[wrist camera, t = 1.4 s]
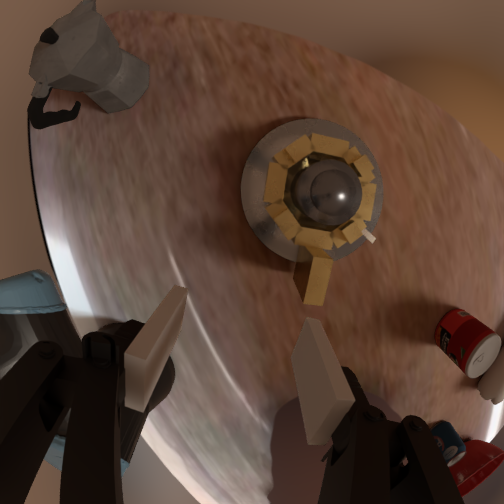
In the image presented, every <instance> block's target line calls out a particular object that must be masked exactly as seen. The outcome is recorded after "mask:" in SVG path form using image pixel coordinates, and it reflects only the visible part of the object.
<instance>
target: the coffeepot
mask: <svg viewBox="0 0 504 504" xmlns="http://www.w3.org/2000/svg"><path fill="white" fill-rule="evenodd" d="M95 2H96V0H84V1H83V2H80V3H79V5H77V7H76V8H75V9H74V10H73V11H72V12H71V13H69V14H67V15H65V16H63V17H61V18H59V19H57V20H56V21H55V22H54V23H53V25H52V26H51V27H49V28H47V29H46V30H45V31H44V32H43V33H42V34H41V36H40V41H39V42H38V43H37V45H36V46H35V48H34V52H33V56H32V61H31V65H30V70H29V75H30V76H31V77H32V78H33V79H34V80H35V81H36V84H35V87H34V89H33V92H32V94H31V95H32V96H33V97H32V100H31V102H30V104H29V106H28V110H27V112H28V115H29V118H30V121H31V124H32V126H33V127H34V128H35V129H43V128H46V127H49V126H52V125H56V124H59V123H63V122H67V121H71V120H74V119H75V118H76V117H77V116H78V113H79V110H80V106H81V103H80V102H79V101H76V103H75V105H74V107H73V109H72V110H71V111H69V110H60V111H58V112H45V113H43V107H44V105H45V103H46V101H47V99H48V97H49V94H50V92H51V90H52V88H56V89H62V90H68V91H74V92H82V91H83V92H84V93H85V94H86V95H87V96H88V97H90V98H91V99H92V100H93V101H94V102H95V103H96V104H98V105H99V106H100V107H101V108H102V109H104V110H105V111H106V112H107V113H112V112H117V111H122V110H125V109H128V108H131V107H132V106H133V105H134V104H135V103H136V102H137V101H138V100H139V99H140V98H141V96H142V95H143V94H144V92H145V90H146V89H147V88H148V85H149V65H148V64H146V63H145V62H143V61H142V60H140V59H139V58H137V57H136V56H134V55H132V54H130V53H128V52H127V51H125V50H123V49H121V48H119V44H118V42H117V40H116V39H115V37H114V35H113V34H112V32H111V30H110V28H109V27H108V25H107V23H106V22H105V20H104V18H103V17H102V15H101V14H99V13H97V12H96V3H95Z"/></svg>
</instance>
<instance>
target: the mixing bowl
mask: <svg viewBox="0 0 504 504" xmlns="http://www.w3.org/2000/svg"><path fill="white" fill-rule="evenodd" d="M463 443H464V444H465V446H466V452H467V453H466V455H465V456H464V457H463V458H462V459H461V460H460V461H459V462H458V463H456V464H455V465H453V466H451V467H449V469H450V472H451V474H452V476H453V478H454V480H455V483H456V485H457V487H458V490H459V492H460V494H461V497H463V496H464V495H466V494H467V493H469V492H470V491H471V490H473V489H474V488H475V487H477V486H478V485H479V484H480V483H482V482H483V481H484V480H485V479H486V478H487V477H488V476H490V475H491V474H492V473H493V472H494V471H495V470H496V469H497V467H498V466H499V465H500V464H501V463H502V462H503V460H504V451H503V450H501V449H500V448H498V447H496V446H495V445H493V444H490V443H488V442H485V441H481V440H471V441H466V442H463Z"/></svg>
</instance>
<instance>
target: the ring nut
mask: <svg viewBox="0 0 504 504" xmlns="http://www.w3.org/2000/svg"><path fill="white" fill-rule="evenodd" d="M308 154H310V155H315V156H319V157H324V158H329V159H333V160H337V161H340V162H343V163H345V164H346V165H348V166H349V167H351V168H352V169H353V170H354V172H355V173H356V174H357V176H358V178H359V180H360V182H361V186H362V200H361V204H360V207H359V209H358V211H357V212H356V214H355V215H354V216H353V217H352V218H351V219H349V220H348V221H346V222H344V223H342V224H339V225H329V226H327V227H326V228H321V227H315V226H309V225H304V224H299V223H298V222H297V220H296V219H295V217H294V216H293V215H292V213H291V212H290V210H289V209H288V208H287V206H286V205H285V203H284V202H283V196H284V190H285V183H286V177H287V171H288V168H290V167H291V166H292V165H294V164H295V163H297V162H298V161H300V160H301V159H303V158H304V157H305V156H307V155H308ZM272 160H273V161H274V163H273V162H269V164H268V169H267V175H266V182H265V188H264V195H263V202H269V204H267V205H266V206H264V207H265V209H266V210H267V212H268V213H269V215H270V216H271V217H272V219H273V220H274V221H275V223H276V224H277V226H278V227H279V228H280V230H281V231H282V232H283V234H284V235H285V237H286V238H287V239H288V241H289V240H290V239H291V240H292V242H293V243H294V244H295V245H299V250H298V255H297V260H296V265H295V270H294V275H293V280H294V282H295V285H296V287H297V290H298V292H299V294H300V297H301V299H302V302H303V304H310V305H319V306H323V302H324V298H325V294H326V290H327V285H328V281H329V277H330V273H331V268H332V264H333V259H332V258H331V257H330V256H329V255H328V254H327V253H326V252H325V251H324V250H323V249H327V250H331V249H332V245H334V246H335V247H336V248H339V247H341V246H342V245H343V244H345V243H346V242H348V243H349V244H351V243H353V242H354V241H355V240H357V239H358V238H359V237H361V236H362V235H363V234H362V232H361V231H362V230H363V229H365V228H366V227H367V226H366V224H365V223H364V221H363V220H367V221H371V215H372V210H373V204H374V198H375V192H376V186H377V184H373V183H369V182H370V181H372V180H373V179H374V178H375V176H374V175H373V173H372V171H371V170H373V169H374V167H373V165H372V164H371V162H370V160H369V159H368V157H367V156H366V154H364V155H361V154H360V153H359V151H358V150H357V148H356V147H355V146H353V147H350V148H349V141H345V140H341V139H337V138H332V137H328V136H324V135H319V134H315V133H312V134H311V135H309V136H308V137H307V136H306V134H305V135H303V136H302V137H300V138H299V139H297V140H296V141H294V142H293V143H291V144H290V145H288V146H287V147H286V148H284V149H283V150H281V151H280V152H278V153H277V154H275V155H274V156H273V157H272Z"/></svg>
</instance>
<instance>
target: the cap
mask: <svg viewBox="0 0 504 504" xmlns="http://www.w3.org/2000/svg"><path fill="white" fill-rule="evenodd" d="M312 133H315V134H319V135H324V136H328V137H332V138H337V139H341V140H345V141H349V148H350V147H353V146H355V147H356V148H357V150H358V151H359V153H360V154H361V155H364V154H366V156H367V157H368V159H369V160H370V162H371V164H372V165H373V167H374V169H373V170H371V171H372V173H373V175H374V176H375V178H374V179H373V180H372V181H370V182H369V183H373V184H377V186H376V192H375V198H374V204H373V210H372V215H371V221H367V220H363V221H364V223H365V224H366V226H367V227H366V228H365V229H363V230H362V231H361V232H362V234H363V235H362V236H361V237H359V238H358V239H357V240H355V241H354V242H353V243H351V244H349V243H348V242H346V243H345V244H343V245H342V246H341V247H339V248H336V247H335V246H334V245H332V249H331V250H327V249H323V250H324V251H325V252H326V253H327V254H328V255H329V256H330V257H331V258H332V259H333V261H335V260H338V259H341V258H343V257H345V256H347V255H349V254H350V253H352V252H353V251H355V250H356V249H357V248H358V247H359V246H361V245H362V244H363V243H364V241H365V240H366V239H368V240H369V241H370V242H371V243H373V242H374V241H375V240H376V238H375V237H374V236H373V235H372V234H371V232H372V231H373V229H374V227H375V225H376V224H377V221H378V218H379V216H380V212H381V208H382V202H383V183H382V177H381V173H380V170H379V167H378V164H377V162H376V160H375V158H374V156H373V154H372V153H371V151H370V150H369V148H368V147H367V146H366V145H365V143H364V142H363V141H362V140H361V139H360V138H359V137H358V136H356V135H355V134H354V133H353V132H351V131H350V130H348V129H346V128H345V127H343V126H341V125H338V124H336V123H333V122H330V121H327V120H321V119H300V120H295V121H291V122H288V123H285V124H283V125H280V126H279V127H277V128H275V129H273V130H272V131H270V132H269V133H268V134H267V135H265V136H264V137H263V138H262V139H261V140H260V141H259V142H258V143H257V145H256V146H255V147H254V149H253V150H252V152H251V154H250V155H249V157H248V159H247V162H246V164H245V167H244V170H243V175H242V180H241V200H242V205H243V210H244V213H245V216H246V218H247V221H248V223H249V225H250V227H251V228H252V230H253V231H254V233H255V234H256V236H257V237H258V238H259V239H260V240H261V242H262V243H263V244H265V245H266V246H267V247H268V248H269V249H270V250H272V251H273V252H275V253H276V254H278V255H280V256H282V257H284V258H286V259H288V260H291V261H294V262H296V260H297V255H298V250H299V245H295V244H294V243H293V242H292V240H291V239H290V240H289V241H288V239H287V238H286V237H285V235H284V234H283V232H282V231H281V230H280V228H279V227H278V226H277V224H276V223H275V221H274V220H273V219H272V217H271V216H270V215H269V213H268V212H267V210H266V209H265V207H264V206H266V205H267V204H269V202H263V195H264V188H265V182H266V175H267V169H268V164H269V162H273V163H274V161H273V160H272V157H273V156H274V155H275V154H277V153H278V152H280V151H281V150H283V149H284V148H286V147H287V146H288V145H290V144H291V143H293V142H294V141H296V140H297V139H299V138H300V137H302V136H303V135H305V134H306V136H307V137H308V136H309V135H311V134H312ZM361 200H362V186H361V182H360V180H359V178H358V176H357V174H356V173H355V172H354V170H353V169H352V168H351V167H349V166H348V165H346V164H345V163H343V162H340V161H337V160H333V159H329V158H324V157H319V156H315V155H310V154H308V155H307V156H305V157H304V158H303V159H301V160H300V161H298V162H297V163H295V164H294V165H292V166H291V167H290V168H288V171H287V177H286V183H285V190H284V196H283V202H284V203H285V205H286V206H287V208H288V209H289V210H290V212H291V213H292V215H293V216H294V217H295V219H296V220H297V222H298V223H299V224H304V225H309V226H315V227H321V228H326V227H327V226H329V225H339V224H342V223H344V222H346V221H348V220H349V219H351V218H352V217H353V216H354V215H355V214H356V212H357V211H358V209H359V207H360V204H361Z"/></svg>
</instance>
